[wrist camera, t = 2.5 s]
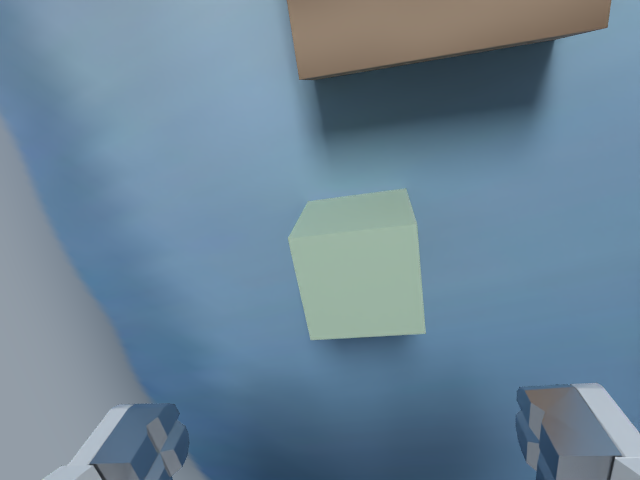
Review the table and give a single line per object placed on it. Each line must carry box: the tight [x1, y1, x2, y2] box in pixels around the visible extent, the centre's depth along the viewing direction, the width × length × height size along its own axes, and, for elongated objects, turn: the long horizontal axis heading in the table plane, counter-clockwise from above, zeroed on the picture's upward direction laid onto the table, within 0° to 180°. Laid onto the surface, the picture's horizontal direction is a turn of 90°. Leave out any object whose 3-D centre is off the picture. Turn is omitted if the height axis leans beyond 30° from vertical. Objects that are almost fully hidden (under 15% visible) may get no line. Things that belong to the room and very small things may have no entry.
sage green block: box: [288, 189, 426, 340], centre depth 17 cm, size 5×5×5 cm
